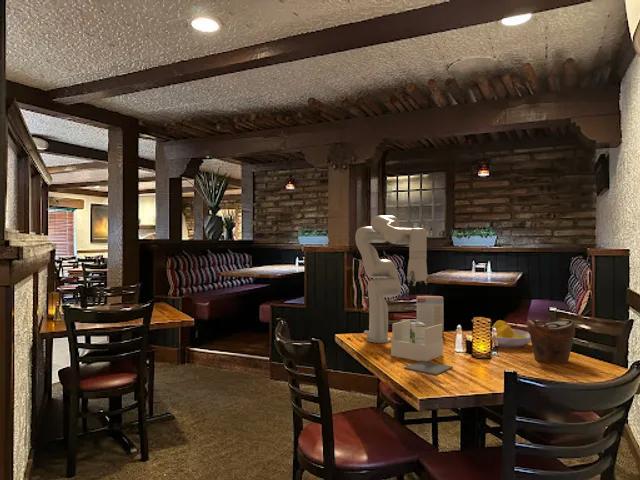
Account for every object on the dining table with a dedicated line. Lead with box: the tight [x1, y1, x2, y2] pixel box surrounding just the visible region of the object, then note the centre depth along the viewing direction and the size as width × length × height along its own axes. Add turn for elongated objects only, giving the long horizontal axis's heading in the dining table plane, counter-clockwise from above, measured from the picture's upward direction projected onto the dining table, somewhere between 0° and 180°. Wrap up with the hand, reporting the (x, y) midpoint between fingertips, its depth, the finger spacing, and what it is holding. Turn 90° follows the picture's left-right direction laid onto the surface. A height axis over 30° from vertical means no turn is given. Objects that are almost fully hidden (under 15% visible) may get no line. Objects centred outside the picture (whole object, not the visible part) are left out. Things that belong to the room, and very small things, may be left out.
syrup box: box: [410, 321, 425, 345], centre depth 209 cm, size 6×6×14 cm
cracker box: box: [416, 295, 445, 336], centre depth 256 cm, size 14×6×21 cm, turn 84°
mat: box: [403, 361, 454, 376], centre depth 188 cm, size 14×14×1 cm
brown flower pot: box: [526, 319, 576, 365], centre depth 202 cm, size 18×20×18 cm
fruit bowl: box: [470, 319, 531, 348], centre depth 233 cm, size 28×27×11 cm
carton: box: [390, 319, 444, 362], centre depth 209 cm, size 17×17×14 cm
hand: (417, 294), depth 209 cm, fingers open, 9 cm apart
